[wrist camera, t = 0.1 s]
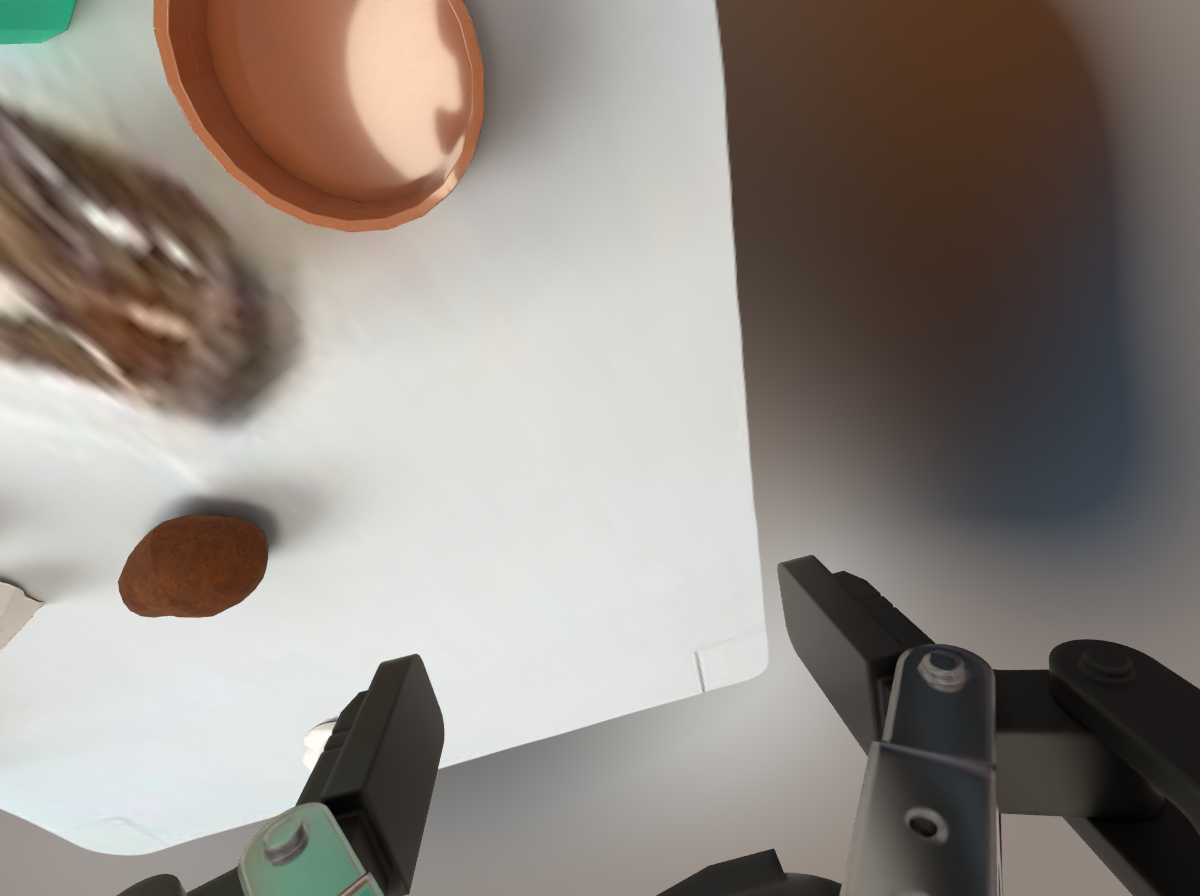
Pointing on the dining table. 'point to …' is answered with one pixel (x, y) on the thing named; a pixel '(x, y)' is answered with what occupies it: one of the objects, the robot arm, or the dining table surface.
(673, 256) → the dining table surface
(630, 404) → the dining table surface
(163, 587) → the potato
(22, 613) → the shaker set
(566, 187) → the dining table surface
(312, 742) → the rose
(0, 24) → the candle
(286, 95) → the pot
